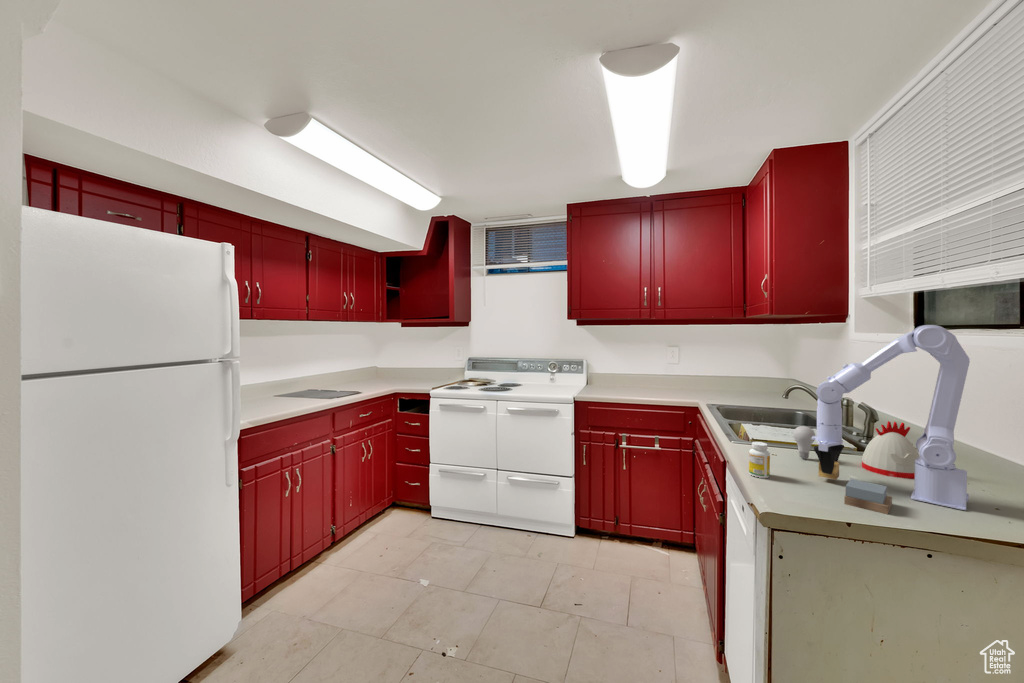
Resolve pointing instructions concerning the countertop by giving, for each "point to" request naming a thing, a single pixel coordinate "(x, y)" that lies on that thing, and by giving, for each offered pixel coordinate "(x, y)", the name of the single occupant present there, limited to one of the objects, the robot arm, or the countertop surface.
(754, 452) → the supplement bottle
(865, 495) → the tower top
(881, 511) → the tower base
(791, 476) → the countertop surface
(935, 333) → the robot arm
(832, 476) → the ochre cube
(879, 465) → the kitchen timer
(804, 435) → the lightbulb
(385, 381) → the countertop surface
